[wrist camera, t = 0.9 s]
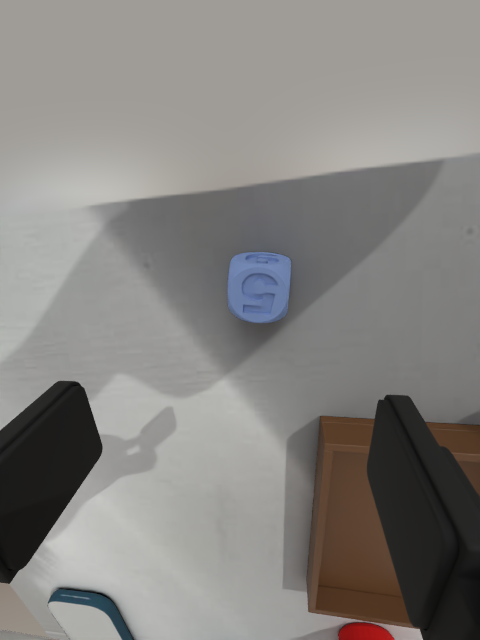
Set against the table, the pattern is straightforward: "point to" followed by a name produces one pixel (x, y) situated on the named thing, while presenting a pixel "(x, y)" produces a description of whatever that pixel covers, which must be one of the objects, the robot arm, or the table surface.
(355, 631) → the soda can
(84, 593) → the external hard drive
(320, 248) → the table surface
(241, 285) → the decorative dice
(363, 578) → the tray
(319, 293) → the table surface
